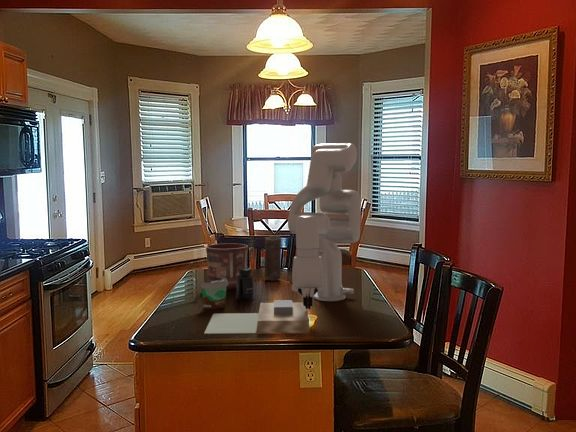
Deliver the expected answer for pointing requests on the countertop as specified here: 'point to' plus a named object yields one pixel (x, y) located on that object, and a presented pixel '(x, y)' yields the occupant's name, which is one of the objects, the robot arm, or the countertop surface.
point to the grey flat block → (283, 307)
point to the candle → (272, 258)
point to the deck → (282, 320)
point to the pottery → (226, 262)
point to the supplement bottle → (245, 285)
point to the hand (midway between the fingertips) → (307, 308)
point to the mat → (233, 323)
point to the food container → (214, 293)
